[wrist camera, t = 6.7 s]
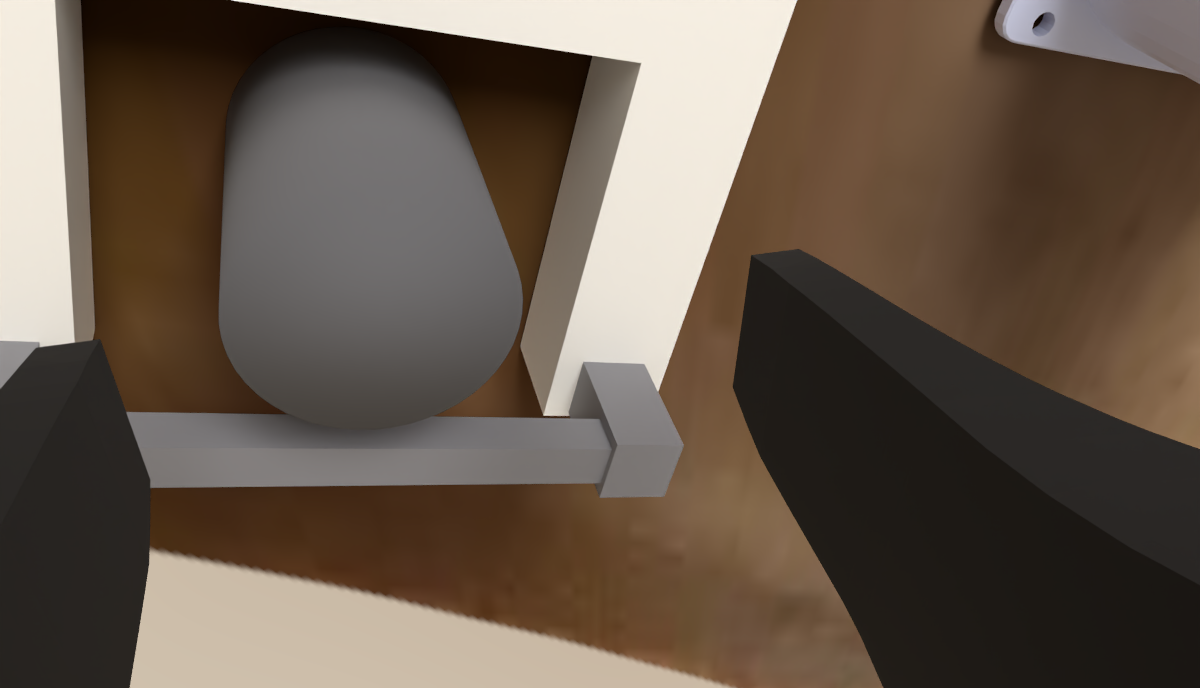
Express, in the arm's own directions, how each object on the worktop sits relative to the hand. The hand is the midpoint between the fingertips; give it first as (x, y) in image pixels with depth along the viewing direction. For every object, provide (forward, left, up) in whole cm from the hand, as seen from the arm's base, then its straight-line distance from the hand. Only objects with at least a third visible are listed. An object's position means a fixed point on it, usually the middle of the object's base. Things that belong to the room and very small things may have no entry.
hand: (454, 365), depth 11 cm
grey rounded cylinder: (0, +2, -9) cm, 10 cm away
